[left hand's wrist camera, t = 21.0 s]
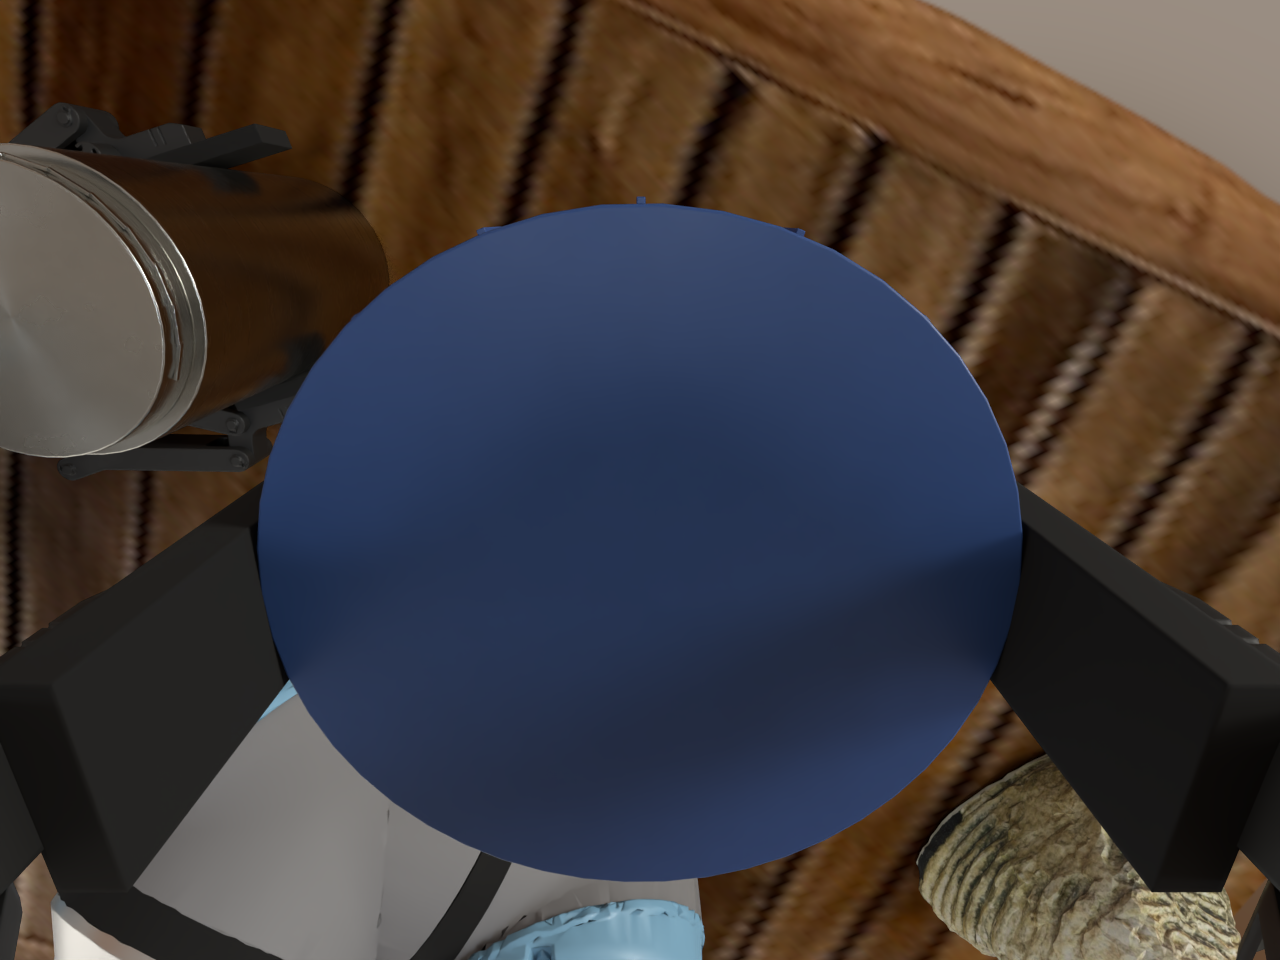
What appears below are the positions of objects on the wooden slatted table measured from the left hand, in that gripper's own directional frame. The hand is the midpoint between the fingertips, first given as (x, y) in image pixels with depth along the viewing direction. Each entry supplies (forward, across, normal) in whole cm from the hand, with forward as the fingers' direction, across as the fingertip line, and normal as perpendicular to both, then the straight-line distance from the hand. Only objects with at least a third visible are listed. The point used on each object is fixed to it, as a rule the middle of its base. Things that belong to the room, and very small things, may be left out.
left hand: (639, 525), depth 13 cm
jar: (+29, +19, -3) cm, 35 cm away
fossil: (+29, -28, +37) cm, 55 cm away
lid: (-3, 0, 0) cm, 3 cm away
